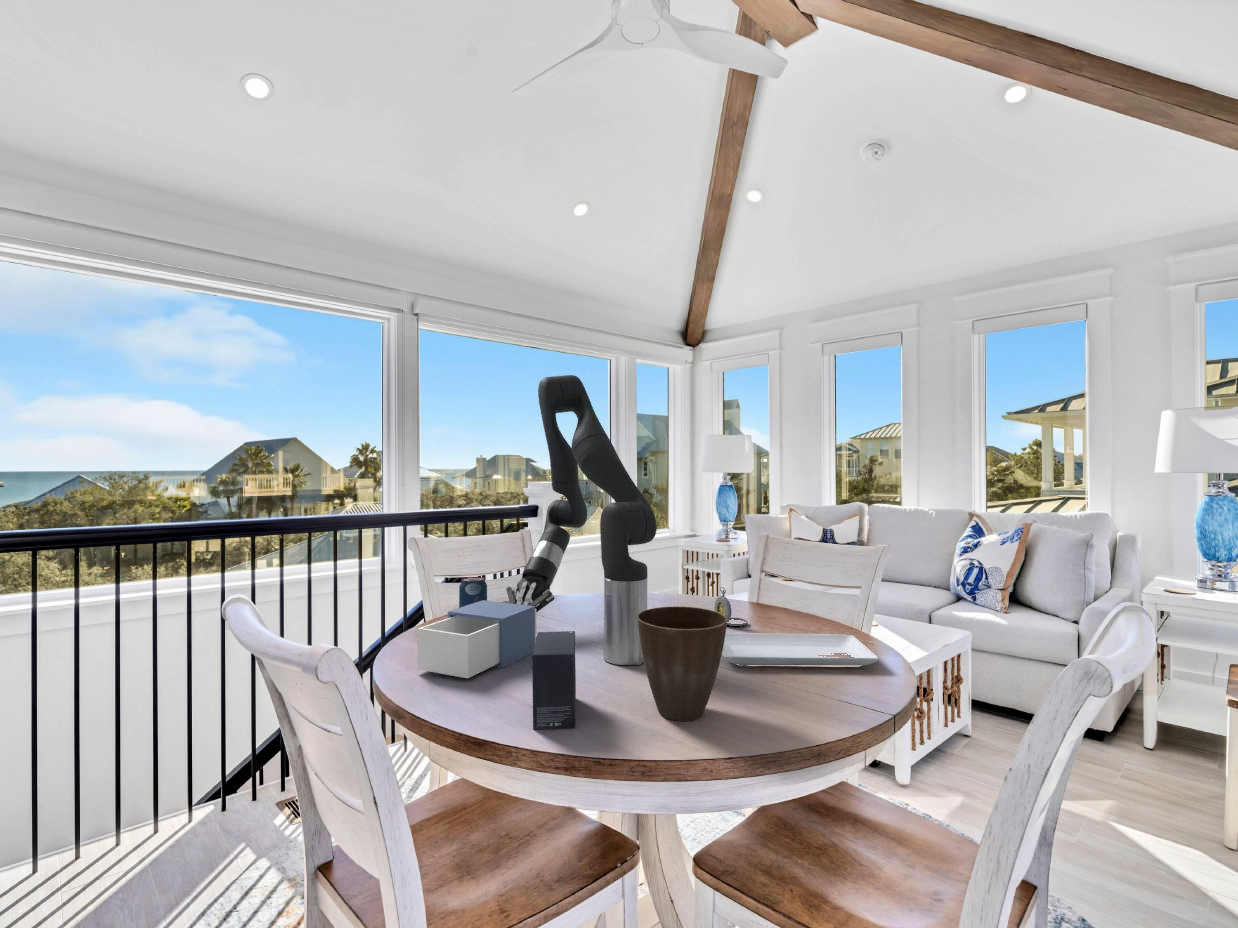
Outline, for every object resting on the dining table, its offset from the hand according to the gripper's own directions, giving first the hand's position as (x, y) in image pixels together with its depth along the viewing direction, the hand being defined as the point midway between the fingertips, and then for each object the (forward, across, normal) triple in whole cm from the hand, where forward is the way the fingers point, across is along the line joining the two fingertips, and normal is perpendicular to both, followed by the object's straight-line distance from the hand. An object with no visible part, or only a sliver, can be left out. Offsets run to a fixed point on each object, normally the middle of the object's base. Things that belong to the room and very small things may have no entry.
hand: (515, 625), depth 142 cm
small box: (+24, +28, -18) cm, 41 cm away
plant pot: (+18, +47, -11) cm, 51 cm away
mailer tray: (+11, 0, -6) cm, 13 cm away
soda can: (-3, -19, +10) cm, 22 cm away
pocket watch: (-24, +40, +30) cm, 56 cm away
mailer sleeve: (+9, 0, -3) cm, 10 cm away
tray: (-8, +59, +16) cm, 61 cm away
